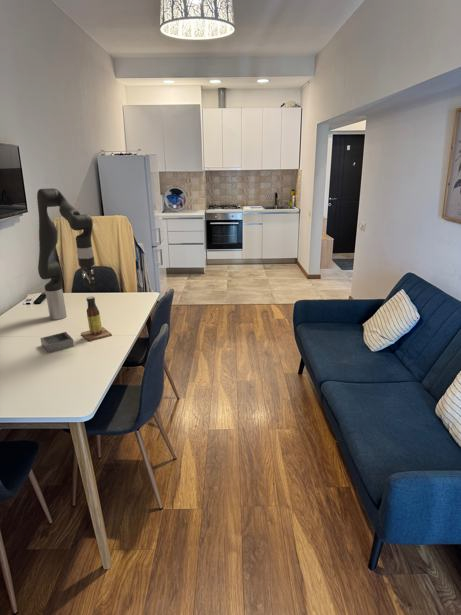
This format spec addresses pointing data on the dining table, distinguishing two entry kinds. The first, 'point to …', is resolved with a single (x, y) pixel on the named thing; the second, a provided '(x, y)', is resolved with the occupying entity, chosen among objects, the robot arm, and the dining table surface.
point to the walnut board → (95, 337)
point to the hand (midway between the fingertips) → (89, 287)
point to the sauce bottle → (93, 317)
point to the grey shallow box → (57, 342)
